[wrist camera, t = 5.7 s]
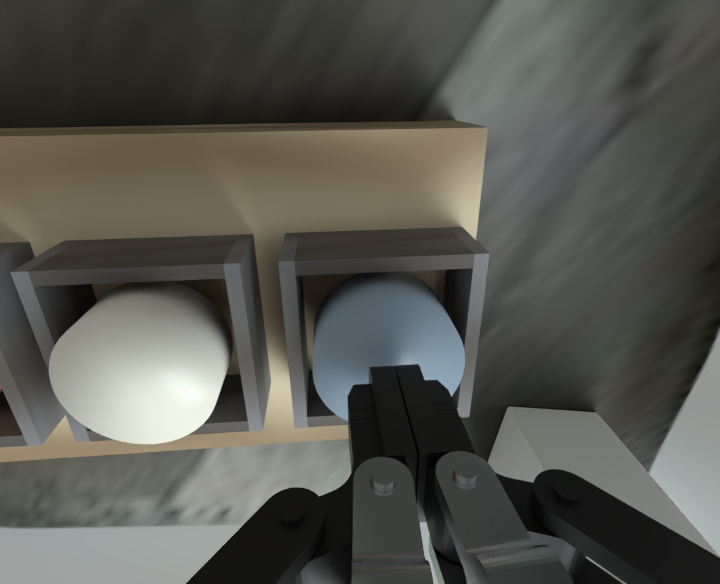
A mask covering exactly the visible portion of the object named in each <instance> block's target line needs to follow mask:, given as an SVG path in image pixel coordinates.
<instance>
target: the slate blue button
mask: <svg viewBox="0 0 720 584" xmlns="http://www.w3.org/2000/svg"><path fill="white" fill-rule="evenodd" d="M410 364H419V366H420V368H421V371H422V374H423V377H424V379H425V380H438V381H439V382H440V383H441V384H442V385H444V386H445V387H446V388H447V389H448V390H449V392H450V395H451V397H452V395H453V394H454V392H455V391H456V389H457V387H458V385H459V384H460V382H461V379H462V376H463V372H464V367H465V352H464V346H463V343H462V340H461V338H460V336H459V334H458V332H457V330H456V328H455V326H454V325H453V323H452V321H451V319H450V318H449V316H448V314H447V312H446V310H445V309H444V307H443V305H442V303H441V302H440V300H439V298H438V297H437V295H436V294H435V292H434V291H433V290H432V289H431V288H430V287H429V286H428V285H427V284H426V283H424V282H423V281H422V280H420V279H418V278H417V277H415V276H413V275H410V274H408V273H404V272H401V271H397V272H372V273H360V274H357V275H354V276H352V277H350V278H348V279H346V280H344V281H343V282H341V283H340V284H338V285H337V286H336V287H335V288H334V289H333V290H332V291H331V292H330V293H329V294H328V295H327V296H326V297H325V299H324V300H323V302H322V303H321V305H320V307H319V309H318V311H317V315H316V318H315V323H314V339H313V380H314V384H315V387H316V390H317V392H318V394H319V396H320V398H321V399H322V401H323V402H324V404H325V405H326V406H327V407H328V408H329V409H330V410H331V411H332V412H334V413H335V414H336V415H337V416H339V417H341V418H342V419H344V420H346V421H348V398H347V396H348V394H349V392H350V390H351V388H352V387H353V385H356V384H369V367H376V366H395V365H410Z"/></svg>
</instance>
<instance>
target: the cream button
mask: <svg viewBox="0 0 720 584" xmlns="http://www.w3.org/2000/svg"><path fill="white" fill-rule="evenodd" d="M232 352H233V340H232V335H231V331H230V328H229V326H228V323H227V321H226V320H225V318H224V316H223V315H222V313H221V312H220V311H219V309H218V308H217V307H216V306H215V305H214V304H213V303H212V302H211V301H210V300H208V299H207V298H206V297H205V296H203V295H202V294H200V293H199V292H197V291H195V290H193V289H191V288H189V287H187V286H185V285H182V284H179V283H176V282H172V281H154V282H130V283H125V284H122V285H120V286H118V287H116V288H114V289H112V290H111V291H109V292H108V293H107V294H106V295H104V296H103V297H102V298H101V299H100V300H99V301H98V302H97V303H96V304H95V305H94V306H93V307H92V308H91V309H90V310H88V311H87V312H86V313H85V314H84V315H83V316H82V317H81V318H80V319H79V320H78V321H77V322H76V323H75V324H74V325H73V326H71V327H70V328H69V329H68V330H67V331H66V332H65V333H64V334H63V335H62V336H61V337H60V338H59V340H58V341H57V343H56V344H55V346H54V348H53V351H52V353H51V356H50V361H49V377H50V382H51V385H52V389H53V391H54V393H55V395H56V397H57V399H58V400H59V402H60V403H61V405H62V406H63V407H64V408H65V409H66V411H67V412H68V413H69V414H70V415H71V416H72V417H74V418H75V419H76V420H77V421H78V422H80V423H81V424H82V425H84V426H85V427H87V428H89V429H90V430H92V431H94V432H96V433H98V434H100V435H103V436H105V437H108V438H111V439H114V440H118V441H121V442H127V443H133V444H159V443H165V442H170V441H174V440H177V439H180V438H182V437H184V436H186V435H189V434H190V433H192V432H194V431H195V430H197V429H198V428H199V427H200V426H201V425H203V424H204V422H205V421H206V420H207V419H208V418H209V416H210V415H211V413H212V412H213V410H214V407H215V405H216V402H217V399H218V396H219V393H220V390H221V387H222V384H223V382H224V379H225V376H226V373H227V370H228V367H229V364H230V361H231V357H232Z"/></svg>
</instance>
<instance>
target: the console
mask: <svg viewBox="0 0 720 584" xmlns="http://www.w3.org/2000/svg"><path fill="white" fill-rule="evenodd" d="M487 135H488V127H484V126H479V125H475V124H470V123H466V122H461V121H456V120H453V121H394V122H336V123H278V124H219V125H161V126H102V127H44V128H0V386H1V388H2V391H1V392H0V462H9V461H24V460H38V459H53V458H68V457H83V456H97V455H112V454H127V453H142V452H157V451H171V450H186V449H201V448H216V447H231V446H245V445H260V444H275V443H290V442H304V441H319V440H334V439H349V435H348V421H346V420H344V419H342V418H341V417H339V416H337V415H336V414H335V413H334V412H332V411H331V410H330V409H329V408H328V407H327V406H326V405H325V404H324V402H323V401H322V399H321V398H320V396H319V394H318V392H317V390H316V387H315V384H314V380H313V339H314V323H315V318H316V315H317V311H318V309H319V307H320V305H321V303H322V302H323V300H324V299H325V297H326V296H327V295H328V294H329V293H330V292H331V291H332V290H333V289H334V288H335V287H336V286H337V285H338V284H340V283H341V282H343V281H344V280H346V279H348V278H350V277H352V276H354V275H357V274H360V273H372V272H397V271H401V272H404V273H408V274H410V275H413V276H415V277H417V278H418V279H420V280H422V281H423V282H424V283H426V284H427V285H428V286H429V287H430V288H431V289H432V290H433V291H434V292H435V294H436V295H437V297H438V298H439V300H440V302H441V303H442V305H443V307H444V309H445V310H446V312H447V314H448V316H449V318H450V319H451V321H452V323H453V325H454V326H455V328H456V330H457V332H458V334H459V336H460V338H461V340H462V343H463V346H464V352H465V367H464V372H463V376H462V379H461V382H460V384H459V385H458V387H457V389H456V391H455V392H454V394H453V395H452V399H453V402H454V405H455V406H456V408H457V411H458V415H460V417H469V415H470V407H471V399H472V391H473V383H474V375H475V367H476V359H477V351H478V343H479V335H480V327H481V319H482V311H483V303H484V295H485V287H486V279H487V271H488V263H489V255H490V253H489V252H488V251H487V250H486V249H485V248H484V247H483V246H482V245H481V244H479V243H478V242H477V241H476V235H477V226H478V217H479V208H480V199H481V190H482V180H483V171H484V162H485V153H486V144H487ZM154 281H172V282H176V283H179V284H182V285H185V286H187V287H189V288H191V289H193V290H195V291H197V292H199V293H200V294H202V295H203V296H205V297H206V298H207V299H208V300H210V301H211V302H212V303H213V304H214V305H215V306H216V307H217V308H218V309H219V311H220V312H221V313H222V315H223V316H224V318H225V320H226V321H227V323H228V326H229V328H230V331H231V335H232V340H233V352H232V357H231V361H230V364H229V367H228V370H227V373H226V376H225V379H224V382H223V384H222V387H221V390H220V393H219V396H218V399H217V402H216V405H215V407H214V410H213V412H212V413H211V415H210V416H209V418H208V419H207V420H206V421H205V422H204V424H203V425H201V426H200V427H199V428H198V429H197V430H195V431H194V432H192V433H190V434H189V435H186V436H184V437H182V438H180V439H177V440H174V441H170V442H165V443H159V444H133V443H127V442H121V441H118V440H114V439H111V438H108V437H105V436H103V435H100V434H98V433H96V432H94V431H92V430H90V429H89V428H87V427H85V426H84V425H82V424H81V423H80V422H78V421H77V420H76V419H75V418H74V417H72V416H71V415H70V414H69V413H68V412H67V411H66V409H65V408H64V407H63V406H62V405H61V403H60V402H59V400H58V399H57V397H56V395H55V393H54V391H53V389H52V385H51V382H50V377H49V361H50V356H51V353H52V351H53V348H54V346H55V344H56V343H57V341H58V340H59V338H60V337H61V336H62V335H63V334H64V333H65V332H66V331H67V330H68V329H69V328H70V327H71V326H73V325H74V324H75V323H76V322H77V321H78V320H79V319H80V318H81V317H82V316H83V315H84V314H85V313H86V312H87V311H88V310H90V309H91V308H92V307H93V306H94V305H95V304H96V303H97V302H98V301H99V300H100V299H101V298H102V297H103V296H104V295H106V294H107V293H108V292H109V291H111V290H112V289H114V288H116V287H118V286H120V285H122V284H125V283H130V282H154Z"/></svg>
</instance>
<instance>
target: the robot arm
mask: <svg viewBox="0 0 720 584" xmlns="http://www.w3.org/2000/svg"><path fill="white" fill-rule="evenodd" d="M347 398H348V435H349V448H350V460H351V472H352V473H351V475H350V477H349V479H348V480H347V481H346V482H345V483H344V484H343V485H342V486H341V487H339V488H338V489H336V490H334V491H332V492H330V493H327V494H325V495H322V496H318V495H317V494H315V493H314V492H313V491H310V490H308V489H305V488H289V489H285V490H282V491H280V492H278V493H276V494H275V495H273V496H272V497H271V498H270V499H269V500H268V501H267V502H266V503H265V504H264V505H263V506H262V507H261V508H260V509H259V510H258V511H257V512H256V513H255V514H254V515H253V516H252V517H251V518H250V519H249V520H248V521H247V522H246V523H245V524H244V525H243V526H242V527H241V528H240V529H239V530H238V531H237V532H236V533H235V534H234V535H233V536H232V537H231V538H230V539H229V540H228V541H227V542H226V544H225V545H223V546H222V548H221V549H219V551H218V552H217V553H216V554H215V555H214V556H213V557H212V558H211V559H210V560H209V561H208V562H207V563H206V564H205V565H204V566H203V567H202V568H201V569H200V570H199V571H198V572H197V573H196V574H195V575H194V576H193V577H192V578H191V579H190V580H189V581H188V582H187V583H186V584H433V579H432V572H431V568H430V564H429V562H428V561H427V560H425V557H424V551H423V544H422V538H421V530H420V524H419V522H427V526H428V529H429V533H430V536H429V553H430V557H431V560H432V563H433V566H434V569H435V573H436V576H437V579H438V582H439V584H623V583H621V582H620V581H619V580H617V579H616V578H614V577H613V576H611V575H610V574H608V573H607V572H606V571H604V570H603V569H601V568H600V567H598V566H597V565H596V564H594V563H593V562H591V561H590V560H588V559H587V558H586V556H587V557H589V558H590V559H592V560H593V561H594V562H596V563H597V564H599V565H600V566H602V567H603V568H604V569H606V570H607V571H609V572H610V573H612V574H613V575H615V576H616V577H617V578H619V579H620V580H622V581H623V582H625V583H626V584H720V557H718V556H716V555H714V554H713V553H711V552H709V551H707V550H706V549H704V548H702V547H701V546H699V545H697V544H695V543H694V542H692V541H690V540H688V539H687V538H685V537H683V536H682V535H680V534H678V533H676V532H675V531H673V530H671V529H669V528H668V527H666V526H664V525H663V524H661V523H659V522H657V521H656V520H654V519H652V518H650V517H649V516H647V515H645V514H644V513H642V512H640V511H638V510H637V509H635V508H633V507H631V506H630V505H628V504H626V503H625V502H623V501H621V500H619V499H618V498H616V497H614V496H612V495H611V494H609V493H607V492H605V491H604V490H602V489H600V488H599V487H597V486H595V485H593V484H592V483H590V482H588V481H586V480H585V479H583V478H581V477H580V476H578V475H576V474H574V473H571V472H568V471H565V470H559V469H550V470H545V471H543V472H541V473H539V474H538V475H537V476H536V478H535V480H534V483H533V482H528V481H523V480H518V479H513V478H509V477H505V476H502V475H499V474H497V473H495V472H494V470H493V469H492V467H491V466H490V465H489V464H488V462H486V461H485V460H484V459H483V458H481V457H479V456H477V455H476V453H475V450H474V448H473V446H472V443H471V441H470V439H469V436H468V434H467V432H466V429H465V427H464V425H463V422H462V420H461V418H460V415H458V411H457V408H456V406H455V405H454V402H453V399H452V397H451V395H450V392H449V390H448V389H447V388H446V387H445V386H444V385H442V384H441V383H440V382H439V381H438V380H425V379H424V377H423V374H422V371H421V368H420V366H419V364H410V365H395V366H376V367H369V384H356V385H353V387H352V388H351V390H350V392H349V394H348V396H347Z"/></svg>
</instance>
